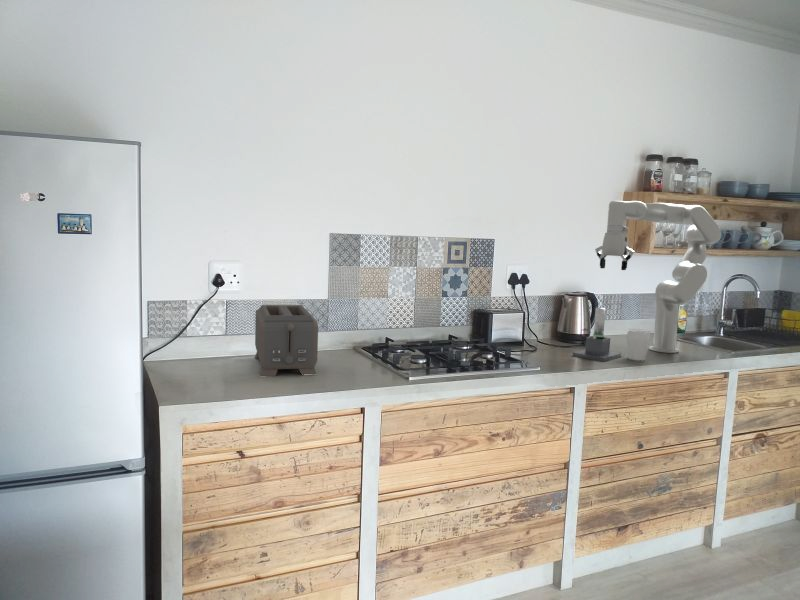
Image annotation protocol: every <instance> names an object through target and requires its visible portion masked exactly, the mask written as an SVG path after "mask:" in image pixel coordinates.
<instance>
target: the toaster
mask: <svg viewBox="0 0 800 600" xmlns="http://www.w3.org/2000/svg"><path fill="white" fill-rule="evenodd" d="M254 319H255V321H254V322H255V323H254V324H255V325H254V326H255V327H254V330H255V334H254V335H255V336H254V339H255V341H254V343H255V344H254V345H255V350H256V353H255V356H254V359H255V360H259V364H260V370H259V372H258V375H260V376H269V377H276V376H277V373H278V370H294V369H295V370H298V371H299V373H301V374H303V375H304V374H317V372H316V368H315V366H316V365H317V362H318V352H319V351H318V349H319V348H318V346H319V344H318V343H319V342H318V341H319V324H318V323H319V322H318V321H317V320H316V319H315V317H314V316H312V314H311V313H310V312H309V311H308V310H307V309H306V308H305V307H304V306H303V305H302V304H261V306H260V307H259V308H258V309H256V310H255V318H254ZM301 374H300V375H301ZM260 376H259V377H260Z"/></svg>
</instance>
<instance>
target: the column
mask: <svg viewBox="0 0 800 600" xmlns="http://www.w3.org/2000/svg"><path fill="white" fill-rule="evenodd" d="M606 309H607V308H605V307H595V311H594V312H595V314H594V324H593V325H594V326H593V334H592V336H597V339H603V338H604V337H605V319H606Z"/></svg>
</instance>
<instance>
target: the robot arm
mask: <svg viewBox="0 0 800 600" xmlns="http://www.w3.org/2000/svg"><path fill="white" fill-rule="evenodd" d="M607 213H608V214H607V226H606V232H605V233H604V236H603V240H602V245H601V246H599V247H596V248H595V249H594V250H595V253H596V256H597V257H598V259H599V267H600V269H605V268H606V257H608V256H611V257H612V256H613V257H621V259H622V261H621V270H622V271H626V270H627V268H628V262H629V260H630V259H631V258H632V257H633V256H634V254H635V250H633V249H632V248H629V240H628V233H626V232H627V231H629V227H628V226H627V220H637V221H648V222H654V223H662V224H663V223H664V224H675V225H684V226H685V225H691V226H689V227H688V228H687V231H686V240H687V248H686V249H687V250H686V252H685V254H684V255H683V256H682V257H681V259H680V260H679V261H678V263H677V264H676V265H675V266H674V268H673V270H672V272H671V274H672V275H671V277H672V278H673V280H663V281H660V282H659V283H658V284H657V286H656V287H655V303H656V307H655V316H654V317H655V318H654V328H653V329H654V333H653V339H652V340H653V343H652V345H648V349H649V350H650V351H653V352H658V353H665V354H666V353H667V354H678V353H679V352H680V349H679V348H677V346H676V345H677V343H678V341H677V334H678V327H679V325H678V323H679V314H680V313H679V305H682V306H683V305H686V304H688V303H690V302H691V300H692V299H694V297H695V296H696V294H697V293H698V292H699V290H701V288H702V286H703V285H704V284H705V282H706V280H707V277H708V270H707V268H706V267H705V265H703V264H704V262H705V261H706V258H707V254H708V252H707V245H715V244H716V243H718V242H720V239H721V238H722V231H721V228H720V226H719V225H718V224H717V222H716V221H715V220H714V218H713V217H712V216H711V214H710V213H709V212H708V211H707V210H706V209H705V207H703V206H701V205H698V204H693V205H692V204H691V205H690V204H689V205H688V204H687V205H685V204H676V203H666V202H653V203H650V202H649V203H644V202H642V201H640V200H639V201H638V200H631V201H624V200H611V201H610V202H609V204H608V212H607Z"/></svg>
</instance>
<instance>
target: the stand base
mask: <svg viewBox="0 0 800 600" xmlns="http://www.w3.org/2000/svg"><path fill="white" fill-rule="evenodd" d="M610 346H611V338H610V337H606V336H604V338H603V339H597V336H593V335H591V336H586V339H585V349H581V350H578V351H573V352H572V357H576V358H577V357H578V358H581V359H582V358H583V359H586V360H587V359H588V360H593V361H599V362H601V363H602V362H609V361H611V360H612V361H613V360H614V359H618V358H621V357H622V352H616V351H615V352H614V351H610Z"/></svg>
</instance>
